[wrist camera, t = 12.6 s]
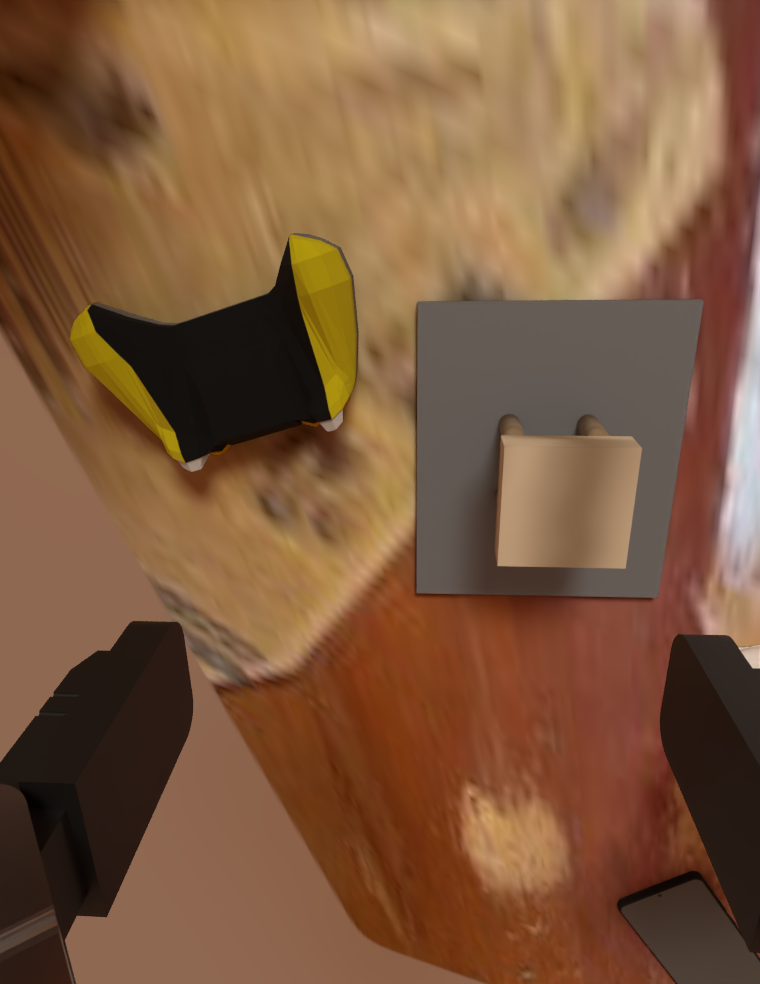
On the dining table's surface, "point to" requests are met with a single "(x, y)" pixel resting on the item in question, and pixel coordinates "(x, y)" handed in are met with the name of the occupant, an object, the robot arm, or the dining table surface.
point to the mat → (544, 426)
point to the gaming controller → (235, 358)
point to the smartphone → (691, 932)
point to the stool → (565, 497)
